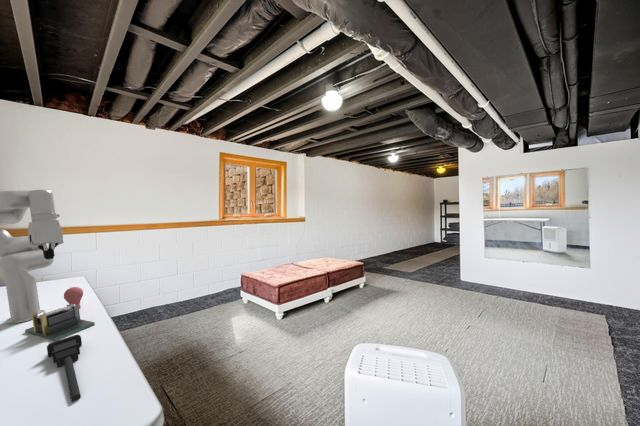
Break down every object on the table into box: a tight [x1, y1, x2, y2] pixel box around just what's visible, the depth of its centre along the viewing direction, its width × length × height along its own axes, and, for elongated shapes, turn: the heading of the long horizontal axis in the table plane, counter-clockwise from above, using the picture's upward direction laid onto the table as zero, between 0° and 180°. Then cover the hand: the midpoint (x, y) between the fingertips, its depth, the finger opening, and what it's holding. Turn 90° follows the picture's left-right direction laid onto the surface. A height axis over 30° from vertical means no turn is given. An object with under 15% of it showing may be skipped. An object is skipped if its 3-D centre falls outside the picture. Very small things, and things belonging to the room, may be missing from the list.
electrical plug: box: [46, 334, 83, 403], centre depth 83 cm, size 9×42×5 cm, turn 47°
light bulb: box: [63, 286, 84, 310], centre depth 131 cm, size 7×7×12 cm
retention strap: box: [37, 304, 75, 319], centre depth 112 cm, size 3×12×2 cm, turn 157°
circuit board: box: [24, 303, 96, 342], centre depth 112 cm, size 24×13×9 cm, turn 67°
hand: (49, 258), depth 118 cm, fingers closed
